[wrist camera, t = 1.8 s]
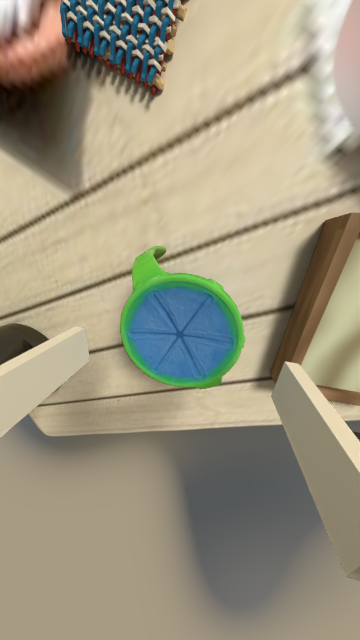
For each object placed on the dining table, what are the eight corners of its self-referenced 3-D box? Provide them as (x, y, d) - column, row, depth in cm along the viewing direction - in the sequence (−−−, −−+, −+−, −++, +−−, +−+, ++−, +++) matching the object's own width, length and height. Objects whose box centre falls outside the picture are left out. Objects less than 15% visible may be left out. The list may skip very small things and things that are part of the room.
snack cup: (244, 343, 24) (265, 399, 14) (177, 359, 27) (159, 415, 17) (209, 230, 19) (209, 207, 10) (134, 264, 22) (80, 272, 13)
